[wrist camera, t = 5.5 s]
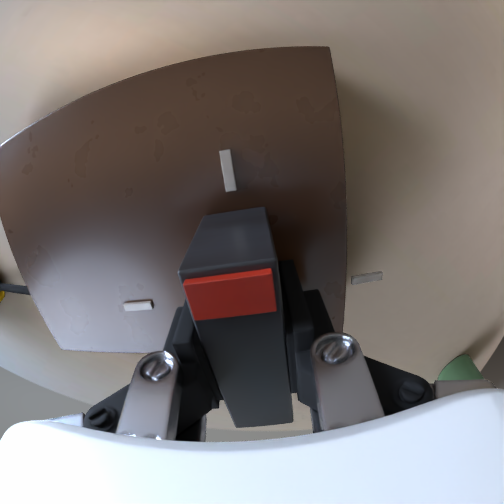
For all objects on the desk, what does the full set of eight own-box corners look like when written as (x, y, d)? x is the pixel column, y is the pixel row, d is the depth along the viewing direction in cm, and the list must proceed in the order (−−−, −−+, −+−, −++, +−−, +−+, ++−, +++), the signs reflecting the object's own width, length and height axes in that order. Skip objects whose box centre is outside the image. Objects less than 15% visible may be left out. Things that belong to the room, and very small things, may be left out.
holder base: (351, 327, 16) (367, 364, 13) (96, 348, 17) (80, 379, 14) (344, 64, 10) (373, 48, 7) (21, 146, 10) (-16, 156, 7)
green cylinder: (460, 375, 20) (476, 401, 16) (432, 387, 20) (447, 416, 16) (474, 349, 18) (493, 376, 15) (445, 361, 18) (464, 392, 15)
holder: (283, 351, 12) (294, 428, 8) (237, 356, 12) (235, 433, 9) (265, 205, 9) (278, 263, 5) (202, 215, 9) (173, 277, 6)
